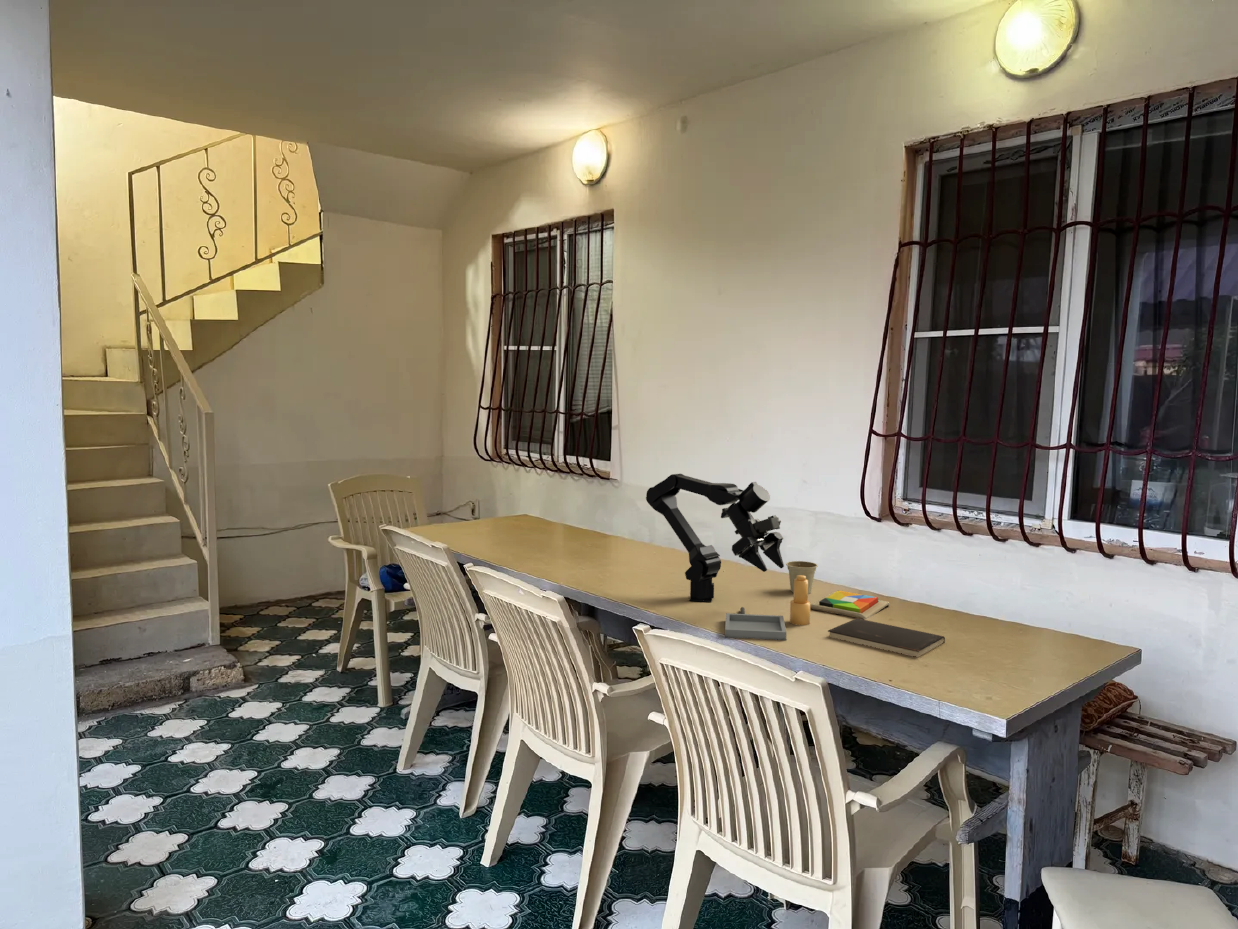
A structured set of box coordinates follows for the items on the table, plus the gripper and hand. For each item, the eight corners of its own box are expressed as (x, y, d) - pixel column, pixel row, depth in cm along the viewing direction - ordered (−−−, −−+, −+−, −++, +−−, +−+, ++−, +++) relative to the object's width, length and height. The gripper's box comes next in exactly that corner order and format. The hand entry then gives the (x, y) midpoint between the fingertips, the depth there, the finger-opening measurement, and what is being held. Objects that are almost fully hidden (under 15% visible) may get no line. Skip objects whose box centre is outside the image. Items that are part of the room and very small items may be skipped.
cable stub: (740, 620, 217) (740, 616, 217) (740, 610, 227) (740, 606, 227) (745, 621, 217) (745, 616, 217) (744, 610, 227) (744, 606, 227)
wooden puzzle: (805, 610, 230) (805, 598, 230) (834, 597, 245) (834, 586, 244) (864, 622, 219) (864, 609, 219) (891, 607, 233) (891, 595, 233)
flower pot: (817, 596, 244) (818, 568, 243) (785, 594, 245) (786, 566, 245) (816, 589, 253) (817, 561, 252) (785, 587, 255) (786, 560, 254)
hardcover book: (917, 660, 188) (918, 650, 188) (827, 639, 203) (827, 630, 203) (944, 644, 199) (945, 635, 199) (857, 626, 215) (857, 617, 215)
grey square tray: (725, 637, 203) (725, 629, 202) (725, 620, 217) (725, 613, 217) (786, 640, 200) (786, 632, 200) (782, 623, 215) (783, 615, 215)
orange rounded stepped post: (790, 624, 214) (791, 578, 213) (789, 619, 219) (790, 573, 218) (810, 625, 213) (812, 579, 212) (808, 620, 218) (810, 574, 217)
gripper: (746, 506, 216) (778, 556, 210) (780, 504, 230) (811, 550, 224) (718, 530, 222) (748, 579, 215) (753, 526, 236) (783, 571, 230)
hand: (774, 569), depth 221 cm, fingers open, 9 cm apart
